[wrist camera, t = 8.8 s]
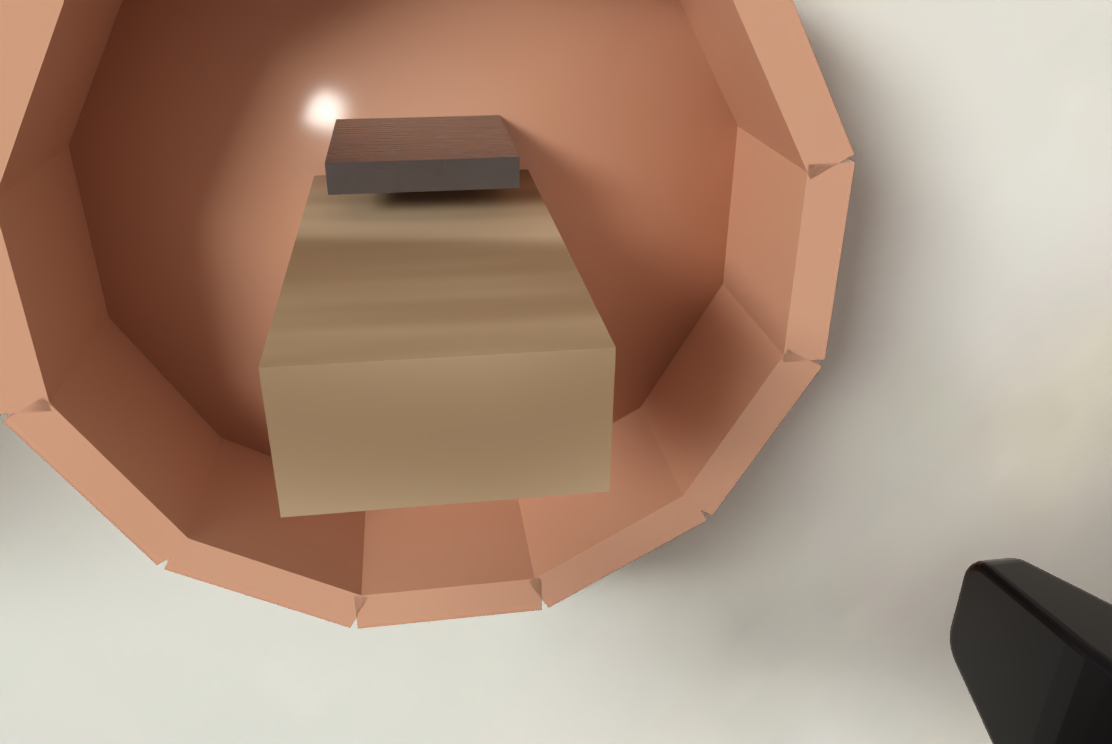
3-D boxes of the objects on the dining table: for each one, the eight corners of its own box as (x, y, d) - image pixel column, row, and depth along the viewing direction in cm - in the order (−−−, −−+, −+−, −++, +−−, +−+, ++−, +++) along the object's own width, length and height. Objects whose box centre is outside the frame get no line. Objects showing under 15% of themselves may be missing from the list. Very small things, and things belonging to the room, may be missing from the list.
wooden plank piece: (528, 267, 19) (609, 490, 12) (325, 276, 18) (281, 516, 11) (527, 169, 18) (615, 346, 11) (314, 175, 17) (258, 367, 10)
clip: (503, 310, 19) (522, 381, 16) (356, 319, 19) (349, 392, 16) (499, 115, 17) (519, 156, 15) (336, 119, 17) (324, 163, 14)
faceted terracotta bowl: (727, 475, 23) (790, 584, 19) (129, 526, 21) (73, 657, 17) (798, -187, 16) (912, -211, 13) (-54, -204, 14) (-204, -239, 11)
